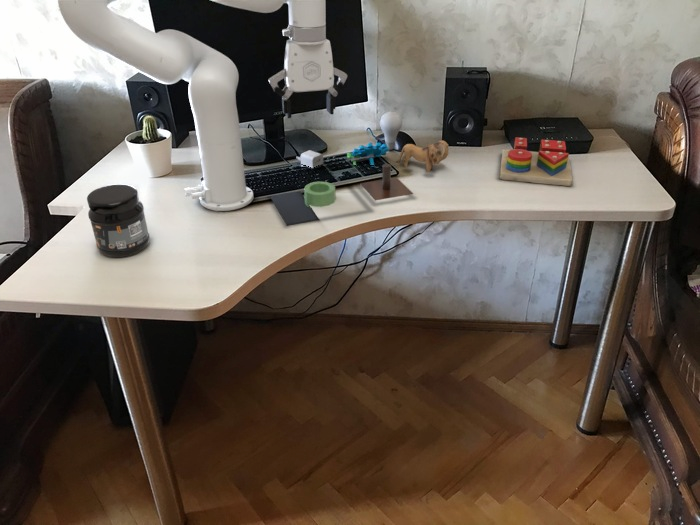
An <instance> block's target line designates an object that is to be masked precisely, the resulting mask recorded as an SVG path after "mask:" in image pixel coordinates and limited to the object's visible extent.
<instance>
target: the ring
mask: <svg viewBox="0 0 700 525" xmlns="http://www.w3.org/2000/svg"><path fill="white" fill-rule="evenodd" d="M303 192H304V193H303V196H304V198H305V204H306V206H307V207H309V208H312V207H317V208H318V207H319V208H322V207H323V208H324V207H329V206H331V205H332V204H334V203H335V201H336V186H335V185H334V184H333V183H330V182H328V181H313V182H310V183H308V184H306V185H305V186H304V189H303Z"/></svg>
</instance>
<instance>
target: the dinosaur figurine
mask: <svg viewBox="0 0 700 525" xmlns="http://www.w3.org/2000/svg"><path fill="white" fill-rule="evenodd" d="M366 145H367V146H365V145H363V144H361V145H359V146H358V148H353V150H352V152H347V153H346V156H347V157H346V158H347V159H348V160H349V159H350V163H352V165H353V166H354V165H356V166H357V163H359V162H365V161H369V164H370V165H374V166H375V162H374V159H375V157H379V158H381V156H386V155H387V152H389V151H390V150H389V149H388V147H387V144H386V143H383V144H382V142H376V143H375V145H373V143H372V142H369V143H367V144H366ZM360 157H361V158H360Z"/></svg>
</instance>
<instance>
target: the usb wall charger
mask: <svg viewBox="0 0 700 525" xmlns="http://www.w3.org/2000/svg"><path fill="white" fill-rule="evenodd" d="M295 158H296V160H297V161H300V167H301V168H302V167H308V166H309V167H308V168H310V167H311V169H314V167H315V168H317V167H319V166H321V165H323V164H324V155H323V154H322V153H320V152H317V151H313V150H310V149H309V150H306V151H304V152H302V153H301V154H300V156H296V157H295ZM301 164H303V165H306V166H303V165H301ZM318 165H319V166H318ZM316 166H317V167H316Z"/></svg>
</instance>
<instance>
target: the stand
mask: <svg viewBox="0 0 700 525" xmlns="http://www.w3.org/2000/svg"><path fill="white" fill-rule="evenodd" d="M381 171H382V173H381V174H382V176H381V178H382V179H378V180H373V181H367V182H360V183H359V184H360V186H361V187H362V188H363V189H364V191H366V192H367V194H368V195H369V196H370V197H371V198H372V199H373V200H374V201H380V200H387V199H391V198H398V197H403V196H404V197H405V196H408V195H409V196H410V195H414V193H413V192H412V191H411V190H410V189H409V188H408V187H407V186H406V185H405V184H404V183H403V182H402V181H401V180H400V179H399V178H398V177H391V176H392V164H390V163H383V164H382V170H381Z"/></svg>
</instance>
